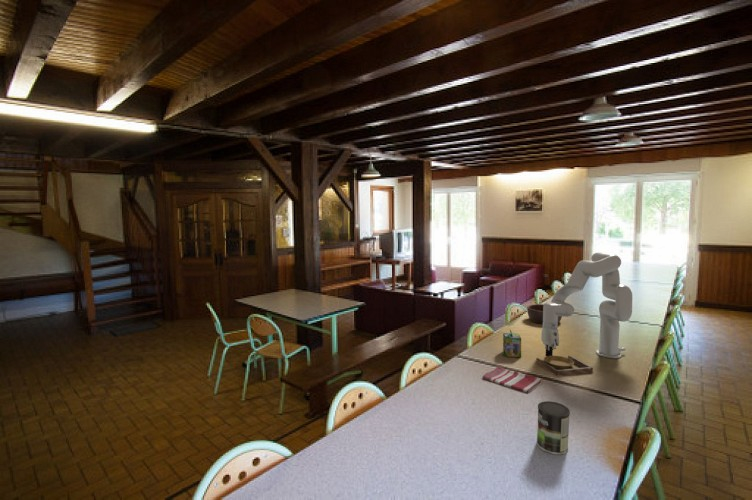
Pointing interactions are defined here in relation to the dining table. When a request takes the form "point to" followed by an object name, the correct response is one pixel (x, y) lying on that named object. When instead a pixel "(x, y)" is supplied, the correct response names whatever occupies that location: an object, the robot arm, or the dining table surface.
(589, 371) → the display frame
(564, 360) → the plant saucer
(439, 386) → the dining table surface
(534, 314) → the wooden bowl
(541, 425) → the coffee can
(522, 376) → the dish towel
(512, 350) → the chalk box
